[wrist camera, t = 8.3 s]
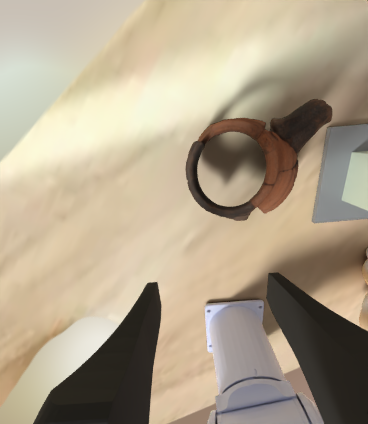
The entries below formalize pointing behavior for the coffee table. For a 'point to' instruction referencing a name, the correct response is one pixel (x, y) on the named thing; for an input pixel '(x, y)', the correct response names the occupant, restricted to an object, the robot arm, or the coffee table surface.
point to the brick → (357, 181)
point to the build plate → (338, 174)
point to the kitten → (367, 311)
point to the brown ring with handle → (273, 150)
